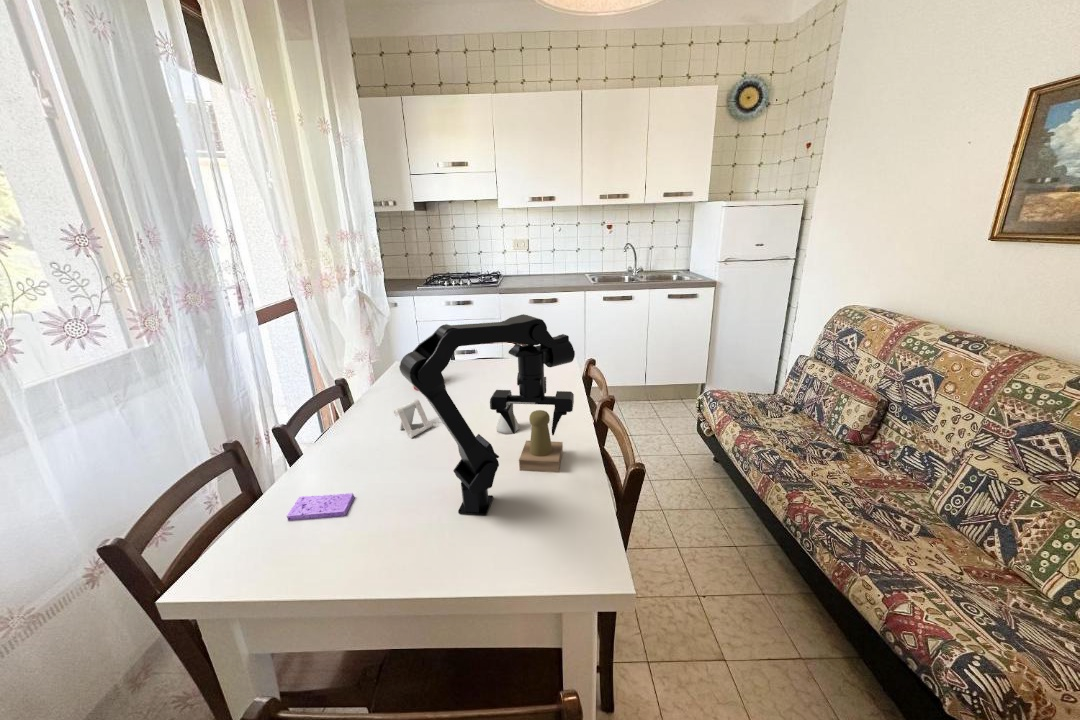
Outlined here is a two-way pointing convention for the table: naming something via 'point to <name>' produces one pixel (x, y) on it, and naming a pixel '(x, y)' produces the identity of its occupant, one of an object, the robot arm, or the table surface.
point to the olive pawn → (540, 434)
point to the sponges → (320, 506)
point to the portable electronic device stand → (407, 417)
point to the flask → (505, 426)
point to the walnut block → (541, 459)
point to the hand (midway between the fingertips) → (533, 433)
